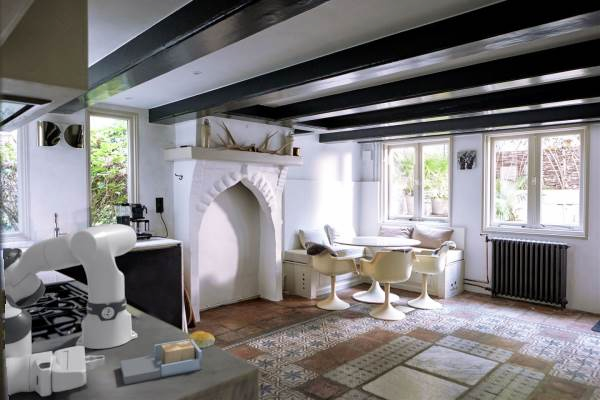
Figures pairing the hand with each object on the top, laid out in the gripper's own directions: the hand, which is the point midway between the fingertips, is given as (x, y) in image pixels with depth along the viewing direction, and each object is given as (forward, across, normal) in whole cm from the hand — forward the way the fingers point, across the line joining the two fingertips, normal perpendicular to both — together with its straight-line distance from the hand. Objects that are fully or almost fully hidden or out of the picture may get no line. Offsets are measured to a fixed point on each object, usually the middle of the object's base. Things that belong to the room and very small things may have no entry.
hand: (104, 360), depth 115 cm
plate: (+9, 0, -5) cm, 10 cm away
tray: (+19, 0, -5) cm, 20 cm away
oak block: (+15, 0, -2) cm, 15 cm away
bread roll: (+30, -14, -6) cm, 33 cm away
